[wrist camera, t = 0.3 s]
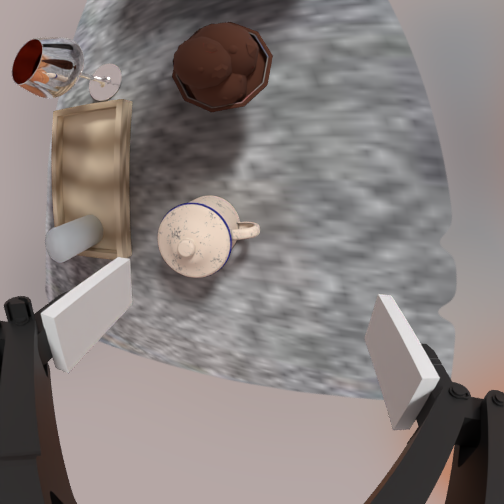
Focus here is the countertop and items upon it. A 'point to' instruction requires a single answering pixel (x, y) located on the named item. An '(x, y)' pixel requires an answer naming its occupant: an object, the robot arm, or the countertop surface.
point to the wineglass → (60, 69)
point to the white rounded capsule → (73, 237)
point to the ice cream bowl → (222, 66)
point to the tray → (94, 171)
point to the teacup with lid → (201, 235)
